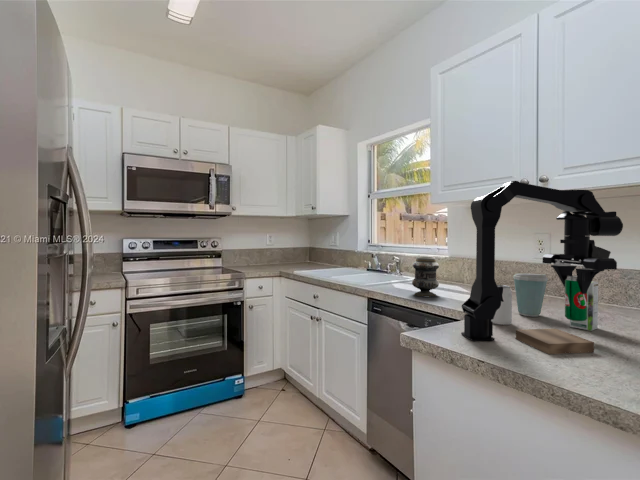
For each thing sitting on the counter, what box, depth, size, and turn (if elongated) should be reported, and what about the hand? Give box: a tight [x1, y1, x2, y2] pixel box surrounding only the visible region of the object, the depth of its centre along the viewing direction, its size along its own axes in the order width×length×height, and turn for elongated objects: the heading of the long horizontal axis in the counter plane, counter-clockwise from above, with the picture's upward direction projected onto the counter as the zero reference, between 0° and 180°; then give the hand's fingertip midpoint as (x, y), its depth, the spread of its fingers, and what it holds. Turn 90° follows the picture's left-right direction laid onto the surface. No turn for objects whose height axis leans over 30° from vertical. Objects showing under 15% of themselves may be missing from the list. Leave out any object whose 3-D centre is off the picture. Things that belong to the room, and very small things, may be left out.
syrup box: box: [569, 281, 599, 332], centre depth 105 cm, size 6×6×14 cm
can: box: [491, 284, 513, 326], centre depth 111 cm, size 6×6×12 cm
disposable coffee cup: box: [513, 273, 549, 318], centre depth 122 cm, size 11×11×15 cm
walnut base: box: [515, 328, 595, 355], centre depth 89 cm, size 12×12×2 cm
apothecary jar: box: [411, 255, 440, 298], centre depth 159 cm, size 12×12×18 cm
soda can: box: [564, 275, 588, 321], centre depth 95 cm, size 5×5×12 cm
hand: (575, 292), depth 95 cm, fingers closed on soda can, 5 cm apart
